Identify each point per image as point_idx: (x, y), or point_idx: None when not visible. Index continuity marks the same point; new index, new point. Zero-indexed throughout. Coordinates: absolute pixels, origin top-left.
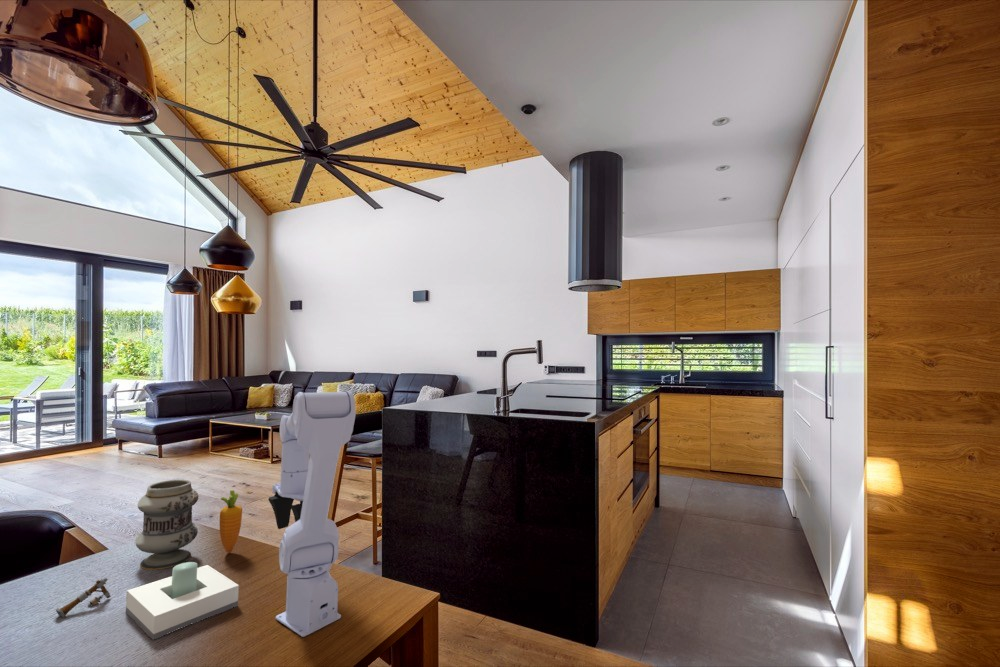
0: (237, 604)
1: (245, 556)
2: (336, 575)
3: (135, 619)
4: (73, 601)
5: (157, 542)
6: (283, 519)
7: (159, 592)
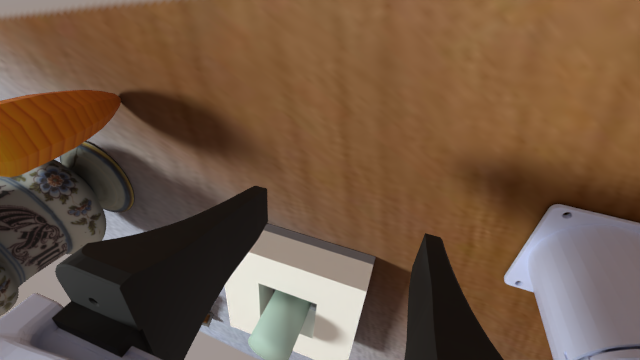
0: (374, 259)
1: (158, 89)
2: (516, 27)
3: None
4: None
5: None
6: (244, 232)
7: None
